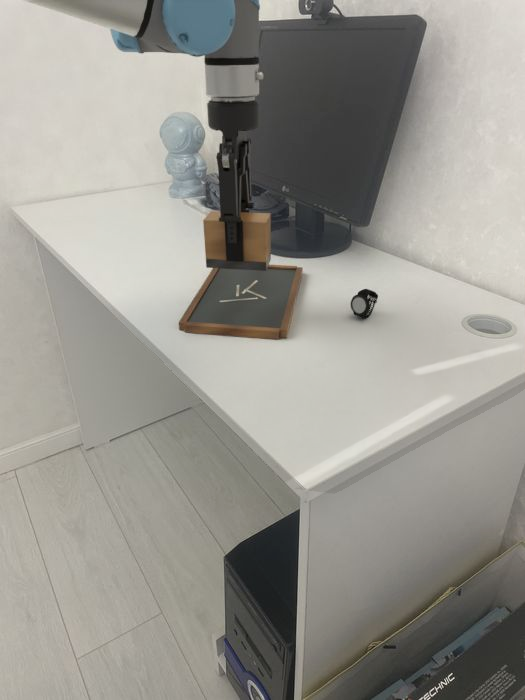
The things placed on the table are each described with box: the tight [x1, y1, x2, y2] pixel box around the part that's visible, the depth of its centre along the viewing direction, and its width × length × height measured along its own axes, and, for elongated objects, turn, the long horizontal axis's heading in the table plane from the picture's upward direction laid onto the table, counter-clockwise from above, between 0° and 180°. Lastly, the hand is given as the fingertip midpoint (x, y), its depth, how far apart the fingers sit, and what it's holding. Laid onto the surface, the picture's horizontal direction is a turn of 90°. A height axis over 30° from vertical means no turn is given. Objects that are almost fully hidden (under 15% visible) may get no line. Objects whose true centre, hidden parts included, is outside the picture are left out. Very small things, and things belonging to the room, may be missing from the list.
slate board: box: [178, 264, 304, 340], centre depth 98 cm, size 18×28×2 cm, turn 171°
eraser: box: [202, 210, 272, 271], centre depth 84 cm, size 10×5×8 cm, turn 81°
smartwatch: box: [350, 288, 379, 319], centre depth 90 cm, size 4×5×5 cm
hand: (238, 253), depth 86 cm, fingers closed on eraser, 5 cm apart
